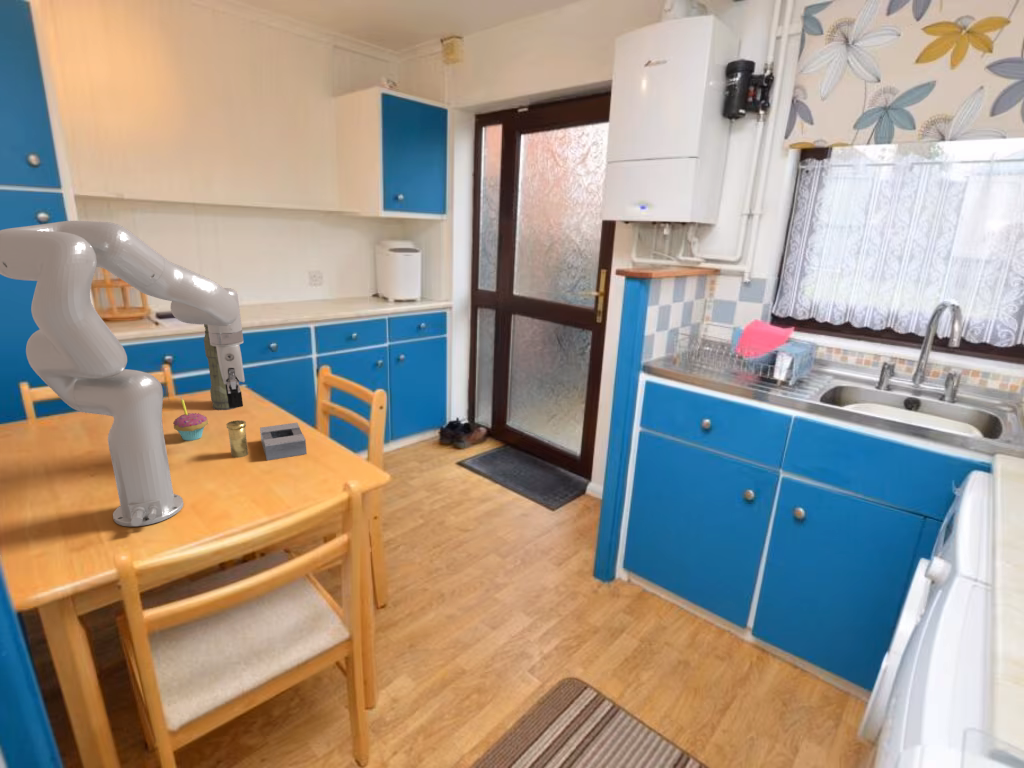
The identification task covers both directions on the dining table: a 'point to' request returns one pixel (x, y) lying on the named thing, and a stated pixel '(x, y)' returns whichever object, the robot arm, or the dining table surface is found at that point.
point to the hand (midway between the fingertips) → (234, 401)
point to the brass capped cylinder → (237, 438)
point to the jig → (283, 441)
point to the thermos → (215, 376)
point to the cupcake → (190, 424)
